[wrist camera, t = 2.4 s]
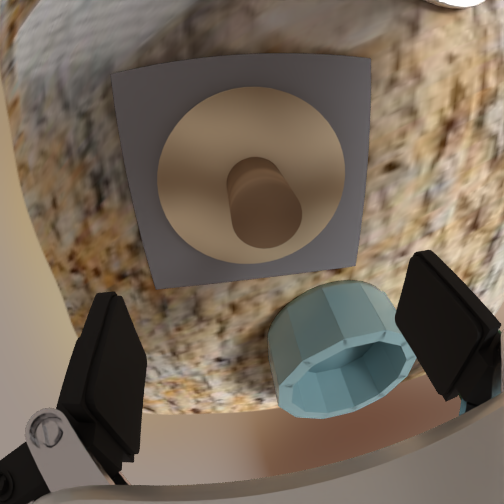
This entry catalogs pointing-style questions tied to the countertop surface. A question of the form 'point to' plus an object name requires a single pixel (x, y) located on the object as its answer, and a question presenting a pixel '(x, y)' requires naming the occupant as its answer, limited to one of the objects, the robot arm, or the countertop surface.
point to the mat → (218, 80)
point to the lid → (250, 175)
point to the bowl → (336, 350)
